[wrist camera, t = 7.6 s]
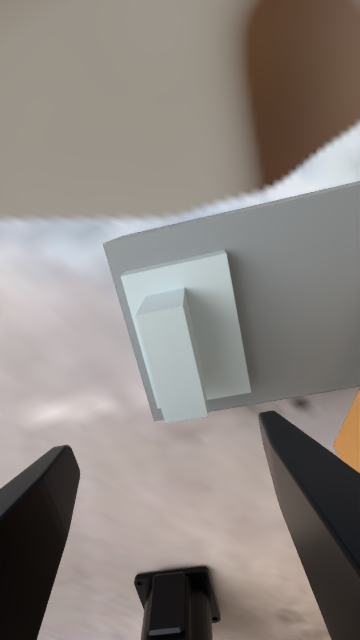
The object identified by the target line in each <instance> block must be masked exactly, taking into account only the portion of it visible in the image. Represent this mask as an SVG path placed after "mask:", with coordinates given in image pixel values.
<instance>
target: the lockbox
mask: <svg viewBox="0 0 360 640" xmlns="http://www.w3.org/2000/svg"><path fill="white" fill-rule="evenodd" d="M103 246H104V250H105V253H106V256H107V260H108V263H109V267H110V270H111V274H112V277H113V281H114V284H115V288H116V291H117V295H118V298H119V301H120V305H121V308H122V312H123V315H124V319H125V322H126V326H127V329H128V333H129V336H130V340H131V343H132V346H133V350H134V353H135V357H136V360H137V364H138V367H139V371H140V374H141V378H142V381H143V385H144V388H145V391H146V395H147V398H148V402H149V405H150V409H151V412H152V416H153V419H154V421H158V420H164V417H163V414H162V410H161V408H159V409H158V408H157V404H156V401H155V397H154V394H153V390H152V387H151V383H150V380H149V376H148V372H147V369H146V365H145V362H144V358H143V355H142V351H141V348H140V344H139V340H138V337H137V333H136V330H135V326H134V323H133V319H132V316H131V312H130V308H129V305H128V301H127V298H126V294H125V291H124V287H123V283H122V280H121V275H122V274H124V273H125V272H126V271H130V270H135V269H140V268H144V267H149V266H153V265H158V264H162V263H167V262H171V261H176V260H181V259H185V258H190V257H194V256H199V255H203V254H208V253H212V252H217V251H221V250H224V251H225V252H226V253H227V259H228V265H229V270H230V276H231V281H232V287H233V293H234V298H235V304H236V310H237V315H238V321H239V326H240V332H241V338H242V343H243V349H244V355H245V360H246V366H247V372H248V377H249V383H250V388H251V393H245V394H239V395H233V396H228V397H222V398H216V399H211V400H207V409H208V412H211V411H217V410H223V409H229V408H235V407H241V406H246V405H252V404H258V403H264V402H270V401H276V400H282V399H288V398H293V397H299V396H305V395H311V394H317V393H323V392H329V391H334V390H340V389H346V388H352V387H358V386H360V181H359V182H354V183H350V184H346V185H341V186H337V187H333V188H328V189H324V190H320V191H315V192H311V193H307V194H302V195H298V196H294V197H289V198H285V199H281V200H277V201H272V202H268V203H264V204H259V205H255V206H251V207H246V208H242V209H238V210H233V211H229V212H225V213H220V214H216V215H212V216H207V217H203V218H199V219H194V220H190V221H186V222H181V223H177V224H173V225H168V226H164V227H160V228H155V229H151V230H147V231H142V232H138V233H134V234H130V235H125V236H121V237H119V238H116V239H114V240H111V241H109V242H106V243H103Z"/></svg>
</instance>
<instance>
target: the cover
mask: <svg viewBox="0 0 360 640" xmlns="http://www.w3.org/2000/svg"><path fill="white" fill-rule="evenodd" d="M121 280H122V283H123V287H124V291H125V294H126V298H127V301H128V305H129V308H130V312H131V316H132V319H133V323H134V326H135V330H136V333H137V337H138V340H139V344H140V348H141V351H142V355H143V358H144V362H145V365H146V369H147V372H148V376H149V380H150V383H151V387H152V390H153V394H154V397H155V401H156V404H157V408H158V409H159V408H161V410H162V414H163V417H164V421H165V424H167V423H173V422H179V421H185V420H191V419H197V418H203V417H208V409H207V400H211V399H216V398H222V397H228V396H233V395H239V394H245V393H251V388H250V383H249V377H248V372H247V366H246V360H245V355H244V349H243V343H242V338H241V332H240V326H239V321H238V315H237V310H236V304H235V298H234V293H233V287H232V281H231V276H230V270H229V265H228V259H227V253H226V252H225V251H224V250H221V251H217V252H212V253H208V254H203V255H199V256H194V257H190V258H185V259H181V260H176V261H171V262H167V263H162V264H158V265H153V266H149V267H144V268H140V269H135V270H130V271H126V272H125V273H124V274H122V275H121Z"/></svg>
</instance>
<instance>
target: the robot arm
mask: <svg viewBox="0 0 360 640" xmlns="http://www.w3.org/2000/svg"><path fill="white" fill-rule="evenodd" d="M258 417H259V423H260V429H261V435H262V441H263V445H264V450H265V453H266V457H267V461H268V465H269V469H270V472H271V476H272V480H273V484H274V488H275V492H276V495H277V499H278V502H279V505H280V508H281V511H282V514H283V516H284V519H285V522H286V524H287V527H288V529H289V532H290V534H291V537H292V540H293V542H294V545H295V547H296V550H297V552H298V555H299V557H300V560H301V563H302V565H303V568H304V570H305V573H306V575H307V578H308V580H309V583H310V586H311V588H312V591H313V593H314V596H315V598H316V601H317V603H318V606H319V609H320V611H321V614H322V616H323V619H324V621H325V624H326V627H327V629H328V632H329V634H330V637H331V639H332V640H360V473H359V472H358V471H356V470H355V469H353V468H352V467H351V466H349V465H348V464H347V463H345V462H344V461H342V460H341V459H340V458H338V457H337V456H336V455H334V454H333V453H332V452H330V451H329V450H327V449H326V448H325V447H323V446H322V445H321V444H319V443H318V442H316V441H315V440H314V439H312V438H311V437H310V436H308V435H307V434H305V433H304V432H303V431H301V430H300V429H299V428H297V427H296V426H295V425H293V424H292V423H290V422H289V421H288V420H286V419H285V418H284V417H282V416H281V415H279V414H278V413H277V412H275V411H267V412H262V413H259V415H258ZM79 479H80V469H79V466H78V464H77V461H76V458H75V456H74V453H73V451H72V449H71V447H70V446H69V445H63V446H57V447H53V448H52V449H51V450H49V451H48V452H47V453H46V454H44V455H43V456H42V457H40V458H39V459H38V460H37V461H35V462H34V463H33V464H32V465H30V466H29V467H28V468H26V469H25V470H24V471H23V472H21V473H20V474H19V475H18V476H16V477H15V478H14V479H12V480H11V481H10V482H9V483H7V484H6V485H5V486H3V487H2V488H1V489H0V640H37V637H38V634H39V630H40V627H41V624H42V620H43V617H44V614H45V610H46V607H47V604H48V601H49V597H50V594H51V591H52V587H53V584H54V581H55V577H56V574H57V571H58V567H59V564H60V561H61V558H62V554H63V551H64V548H65V544H66V541H67V537H68V533H69V529H70V525H71V519H72V514H73V509H74V504H75V499H76V494H77V489H78V484H79ZM134 585H135V587H136V590H137V593H138V595H139V598H140V600H141V603H142V606H143V608H144V617H143V626H142V634H141V640H213V636H212V623H216V622H219V621H220V620H221V617H220V610H219V607H218V603H217V599H216V596H215V592H214V588H213V585H212V581H211V578H210V574H209V570H208V569H207V568H206V567H197V568H188V569H180V570H172V571H164V572H156V573H148V574H139V575H137V576H136V577H135V580H134Z"/></svg>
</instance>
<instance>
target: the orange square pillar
mask: <svg viewBox="0 0 360 640" xmlns="http://www.w3.org/2000/svg"><path fill="white" fill-rule="evenodd" d="M333 446H334V448H335V450H336V451H337V453H338V455H339V456H340V458H341V460H342V461H344V462H345V463H347V464H348V465H349V466H351V467H352V468H353V469H355V470H356V471H358V472H359V473H360V390H359V392H358V394H357V396H356V398H355V400H354V402H353V405H352V407H351V409H350V411H349V413H348V415H347V417H346V419H345V421H344V423H343V426H342V428H341V430H340V432H339V434H338V436H337V438H336V440H335V442H334V444H333Z"/></svg>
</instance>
